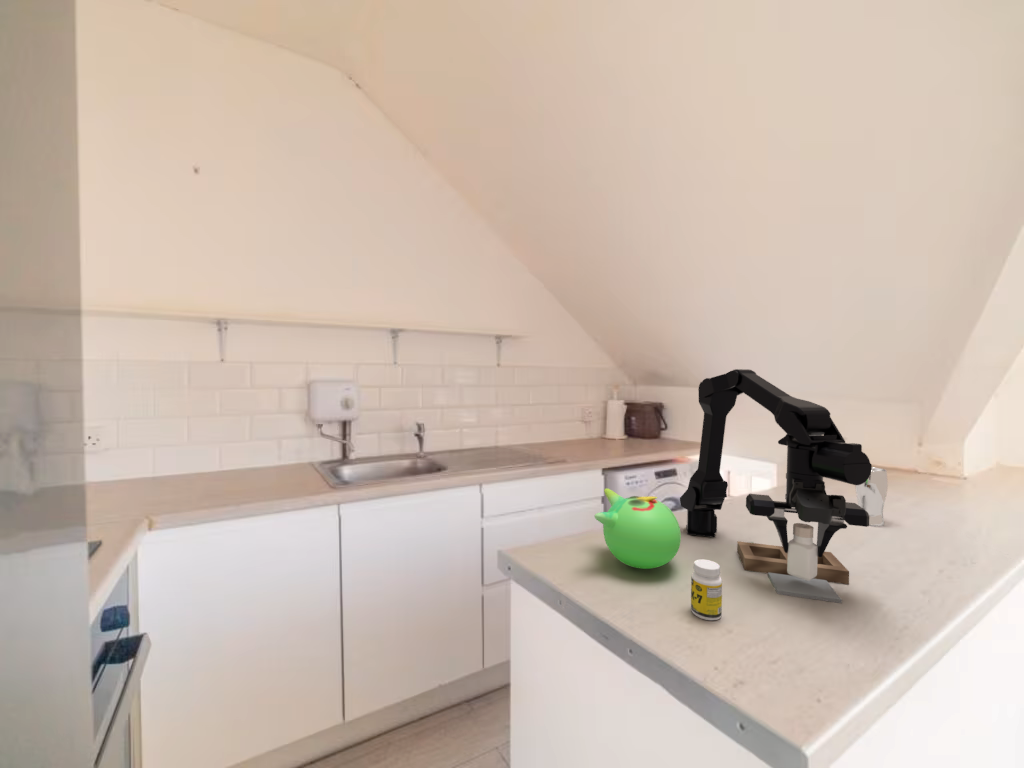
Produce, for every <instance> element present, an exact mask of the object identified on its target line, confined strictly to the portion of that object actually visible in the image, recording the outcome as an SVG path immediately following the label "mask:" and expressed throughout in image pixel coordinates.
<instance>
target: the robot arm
mask: <svg viewBox="0 0 1024 768" xmlns="http://www.w3.org/2000/svg"><path fill="white" fill-rule="evenodd" d="M742 394H744V395H746V396H748V397H749V398H750V399H752V400H753V401H754V402H755V403H756V404H757V403H758V404H759V406H762V407H763V408H764V409H765V410H768V412H770V413H771V414H772V415H773V416H774V422H775V423H776V424H777V425H778V427H780V428H781V429H782V430H783V432H785V436H784V437H782V438H780V439H779V440H778V441H777V443H778V444H779V445H781V446H787V448H786V449H787V450H786V473H785V479H786V486H785V488H786V489H785V491H786V492H785V496H784V497H785V501H778V500H773V499H772V498H771V496H770V495H767V494H757V493H749V494H747V495H746V498H745V507H746V509H747V511H748V512H749V514H750V515H752V516H759V517H760V516H761V517H767V519H768V520H769V521H770V522H773V524H774V526H775V529H776V531H777V535H778V538H779V540H780V543H781V545H782V547H783V549H784V551H785V553H788V542H789V539H788V519H787V518H786V517H785V513H792V514H797V517H798V519H799V520H800V521H801V522H805V523H817V532H816V533H817V536H816V545H817V546H818V556H819V557H822V555H823V553H824V551H825V552H826V549H827V547H828V545H829V543H830V541H831V539H832V537H834V535H835V533H836V532H838V531H840V530H841V529H844V530H845V529H847V528H848V525H849V526H856V527H870V525H869V514H868V512H867V511H866V510H865V509H863V508H862V507H860V506H859V505H858V503H856V502H846V501H847V500H846V498H845V497H844V495H841V494H840V495H837V494H827V491H826V484H825V483H826V482H825V481H824V478H826V479H831V480H834V481H837V482H841V483H846V484H848V485H849V484H850V485H853V486H855V485H861V484H863V483H864V482H866V481H867V479H868V478H869V476H870V474H871V469H872V467H873V465H872V463H871V461H870V458H869V455H867V454H866V453H865V452H864V451H863V449H862V448H863V445H862V444H860V443H853V442H852V443H850V442H849V443H848V442H846V440H845V438H844V437H843V435H842V434H841V431H840V430H839V429H838V427H837V426H836V424H835V422H834V421H833V419H832V417H831V412H830V411H829V410H828V408H826V407H825V406H822V405H820V404H817V403H815V402H812V401H809V400H805V399H801V398H797V397H795V396H791V394H788V393H787V392H785V391H783V390H782V389H781V388H779V387H777V386H776V385H774V384H773V383H772V382H770V381H768V380H766V379H764V378H763V377H761V376H760V375H758V374H757V373H756V372H755V371H754V370H752V369H743V368H742V369H740V368H739V369H738V368H737V369H736V368H735V369H732V370H730V371H728V372H726V373H724V374H720V375H716V376H713V377H705V378H704V379H703V380H702V381H700V383H699V385H698V404H699V405H700V407H701V410H702V411H703V418H702V419H703V420H702V429H701V438H700V439H701V440H700V447H699V457H698V465H697V468H696V470H695V472H694V473H693V474H692V475H691V477H690V478H689V483H688V486H687V489H686V490H685V492H684V493H683V494H682V495H681V496H680V497H679V503H680V507H682V508H684V509H685V510H687V511H686V514H687V515H686V525H685V526H686V527H685V528H686V533H687V535H690V536H691V535H692V536H699V537H709V538H716V534H717V532H718V530H717V529H718V516H717V514H716V512H715V511H716V510H718V511H721V509H722V507H723V503H724V501H725V498H728V495H727V490H728V486H729V485H728V481H726V480H724V478H723V476H722V474H721V463H722V455H723V449H724V448H723V447H724V441H725V440H724V438H725V433H726V432H725V430H726V422H727V416H728V414H729V413H730V412H731V410H732V409H733V408H734V407H735V405H736V402H737V399H738V396H739V395H742ZM845 522H846V523H847V524H846V523H845Z"/></svg>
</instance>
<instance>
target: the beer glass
mask: <svg viewBox="0 0 1024 768" xmlns="http://www.w3.org/2000/svg"><path fill="white" fill-rule="evenodd" d="M888 486H889V482H888V470H887V469H885V468H882V467H881V468H880V467H875V466H872V469H871V474H870V476H869V478H868V479H867V481H866V482H864V483H863V484H861V485H854V488H855V494H856V500H857V505H859V506H860V507H862V508H863V509H865V510H866V511H867V512H868V514H869V526H870V527H884V526H885V525H886V523H885V519H884V506H885V502H886V497H887V493H888Z"/></svg>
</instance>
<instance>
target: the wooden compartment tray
mask: <svg viewBox="0 0 1024 768" xmlns="http://www.w3.org/2000/svg"><path fill="white" fill-rule="evenodd" d="M736 543H737V549H736V553H737V555H738V557H739V561H740V562H741V565H742V567H743V570H744V571H747V572H748V571H749V572H756V573H761V574H762V573H763V574H768V572H769V573H777V574H784V575H790V574H788V572H787V560H788V553H785V551H784V549H783V546H780V545H773V544H763V543H756V542H755V543H754V542H746V541H739V540H738V541H737V542H736ZM791 576H793V575H791ZM813 579H821V580H827V582H828V583H837V584H843V585H849V584H850V571H849V570H848V568H847V567H846V566H845V565H844V564H843V563H842V562H841V561H840V560H839V559H838V558H837V557H836V556H835V555H834V554H833V553H832V552H831V551H826V550H825V551H824V553H823V555H822V557H819V556H818V560H817V576H816V577H814V578H813Z"/></svg>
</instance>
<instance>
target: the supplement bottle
mask: <svg viewBox="0 0 1024 768" xmlns="http://www.w3.org/2000/svg"><path fill="white" fill-rule="evenodd" d="M720 575H721V567H720V564H718V562H715V561H713V560H709V559H702V558H701V559H696V560H694V562H693V572H692V573H691V582H690V583H691V584H690V586H691V589H690V610H691V612H692V614H693V615H695V616H696V617H697V618H699V619H701V620H704V621H705V620H706V621H717V620H719V619H721V617H722V612H723V611H722V610H723V608H722V607H723V580H722V578H721V576H720Z"/></svg>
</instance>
